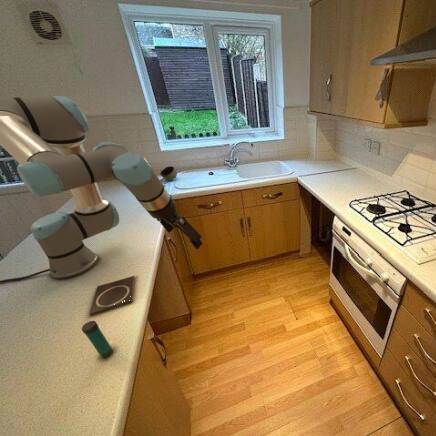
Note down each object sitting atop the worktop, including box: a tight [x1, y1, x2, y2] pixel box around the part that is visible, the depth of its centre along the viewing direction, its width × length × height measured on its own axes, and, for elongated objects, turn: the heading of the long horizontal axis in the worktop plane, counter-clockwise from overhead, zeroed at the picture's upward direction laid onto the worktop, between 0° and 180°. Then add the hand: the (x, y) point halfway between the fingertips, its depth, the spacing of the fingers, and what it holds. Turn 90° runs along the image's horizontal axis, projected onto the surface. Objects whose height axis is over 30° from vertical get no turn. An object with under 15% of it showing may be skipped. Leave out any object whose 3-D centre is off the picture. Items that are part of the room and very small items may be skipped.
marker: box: [81, 320, 114, 359], centre depth 64 cm, size 3×3×12 cm
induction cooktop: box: [89, 275, 136, 316], centre depth 86 cm, size 12×14×1 cm
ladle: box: [159, 165, 178, 183], centre depth 184 cm, size 12×38×10 cm, turn 171°
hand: (185, 237), depth 86 cm, fingers open, 13 cm apart
